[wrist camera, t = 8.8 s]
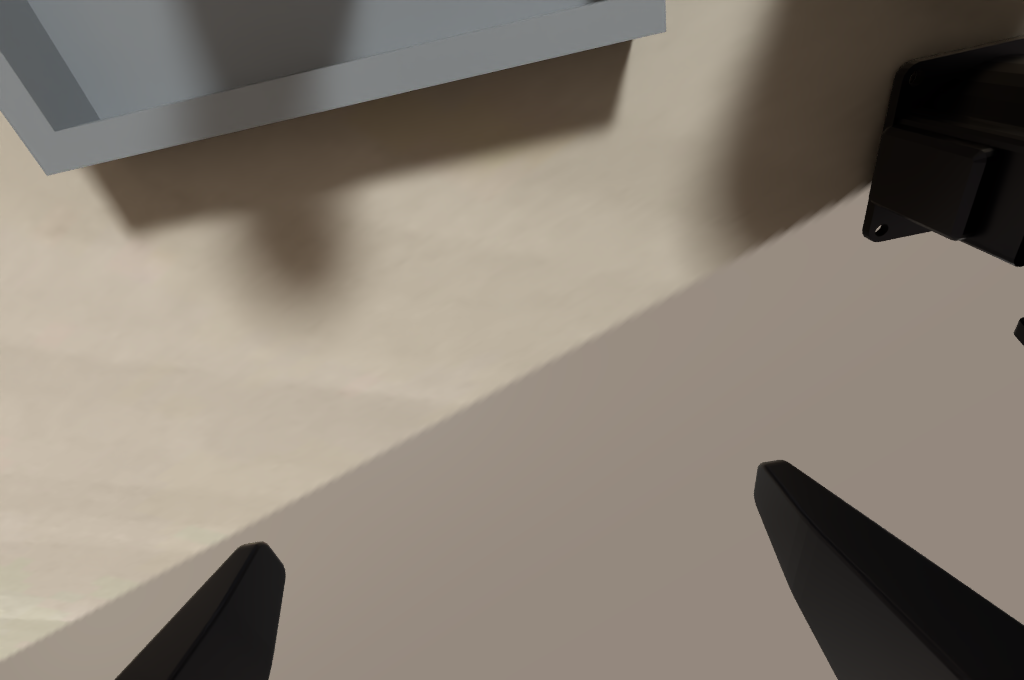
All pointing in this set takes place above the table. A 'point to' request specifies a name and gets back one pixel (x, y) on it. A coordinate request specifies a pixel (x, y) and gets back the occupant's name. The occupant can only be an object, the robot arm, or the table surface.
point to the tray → (260, 61)
